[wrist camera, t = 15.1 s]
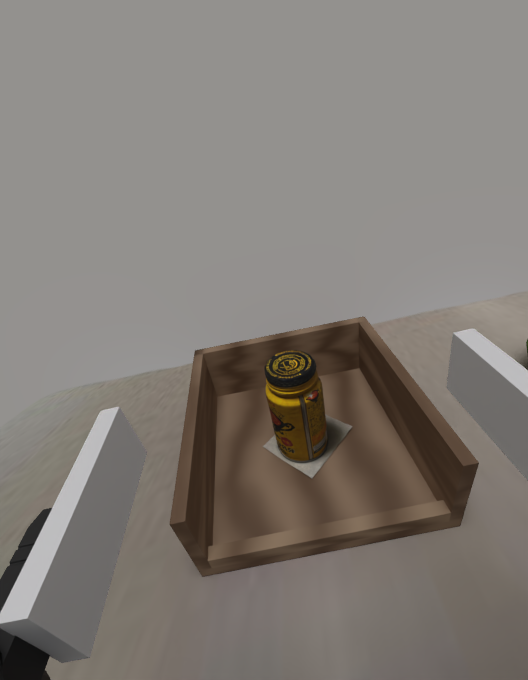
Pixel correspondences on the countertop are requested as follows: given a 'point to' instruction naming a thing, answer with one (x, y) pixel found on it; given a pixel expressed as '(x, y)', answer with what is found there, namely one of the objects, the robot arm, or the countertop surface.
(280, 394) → the condiment
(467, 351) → the robot arm
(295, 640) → the countertop surface
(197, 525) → the tray
